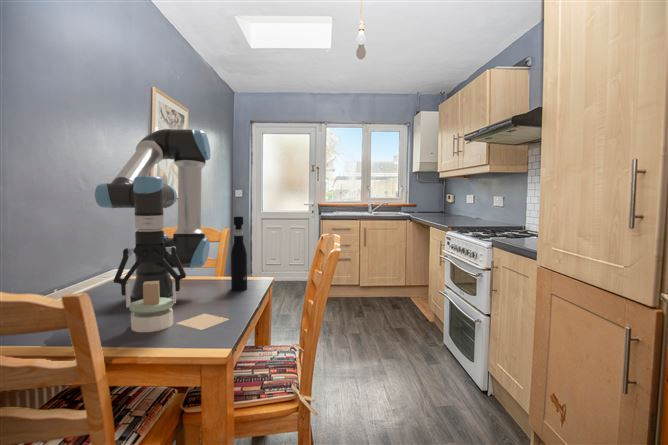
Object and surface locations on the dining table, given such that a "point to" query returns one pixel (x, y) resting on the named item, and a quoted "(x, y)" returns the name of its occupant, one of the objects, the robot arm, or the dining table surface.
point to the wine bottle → (238, 259)
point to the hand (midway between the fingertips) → (151, 304)
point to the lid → (151, 299)
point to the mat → (202, 321)
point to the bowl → (151, 321)
